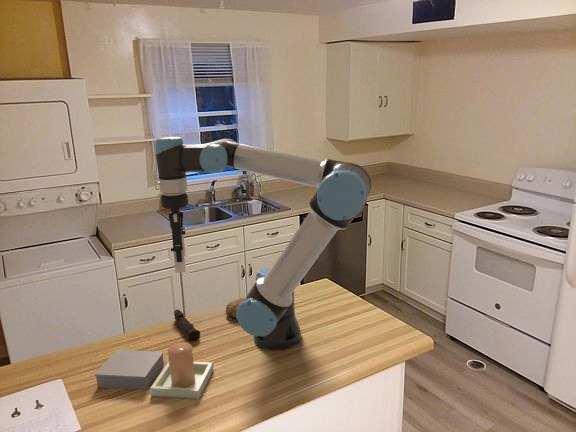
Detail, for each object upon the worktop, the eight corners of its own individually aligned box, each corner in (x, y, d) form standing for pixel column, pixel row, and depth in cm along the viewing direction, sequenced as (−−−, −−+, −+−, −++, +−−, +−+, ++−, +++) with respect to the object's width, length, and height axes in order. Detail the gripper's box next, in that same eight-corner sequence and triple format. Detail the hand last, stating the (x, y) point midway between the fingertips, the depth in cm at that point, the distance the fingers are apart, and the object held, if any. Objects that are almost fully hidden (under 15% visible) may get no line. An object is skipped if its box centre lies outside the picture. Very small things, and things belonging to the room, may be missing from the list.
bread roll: (224, 326, 164) (217, 311, 160) (235, 304, 172) (230, 289, 167) (249, 330, 161) (243, 315, 156) (259, 307, 168) (254, 293, 163)
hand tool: (201, 340, 148) (200, 327, 147) (189, 344, 146) (187, 331, 145) (183, 317, 164) (182, 305, 163) (172, 320, 162) (171, 308, 161)
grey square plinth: (164, 364, 135) (163, 351, 134) (146, 390, 123) (144, 376, 122) (118, 362, 137) (117, 349, 136) (96, 387, 125) (94, 374, 124)
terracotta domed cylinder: (198, 374, 129) (194, 342, 126) (191, 388, 123) (187, 355, 120) (176, 373, 130) (172, 342, 127) (168, 387, 123) (164, 355, 121)
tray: (213, 370, 131) (212, 362, 131) (198, 399, 119) (198, 390, 118) (170, 368, 133) (169, 360, 133) (151, 396, 121) (150, 388, 120)
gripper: (162, 185, 140) (169, 251, 146) (157, 203, 117) (165, 281, 122) (187, 184, 142) (193, 249, 147) (187, 201, 118) (194, 277, 124)
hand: (180, 263), depth 135 cm, fingers open, 13 cm apart
